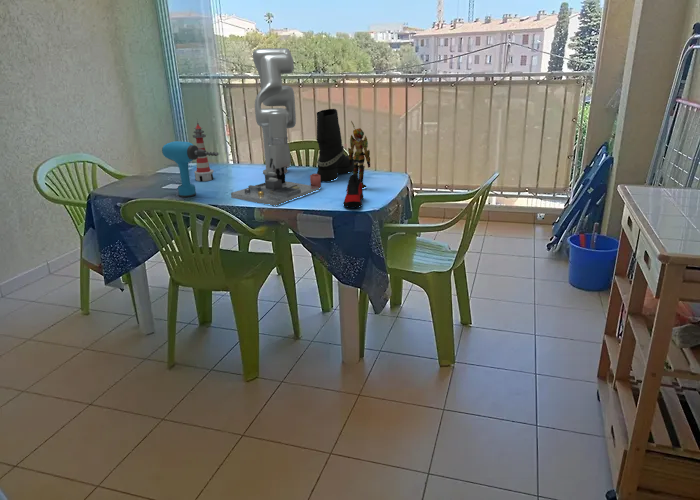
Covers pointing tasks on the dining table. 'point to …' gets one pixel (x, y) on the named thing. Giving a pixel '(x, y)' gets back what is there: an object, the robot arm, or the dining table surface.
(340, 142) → the boot
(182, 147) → the power drill
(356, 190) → the athletic shoe
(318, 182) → the lockout cap
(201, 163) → the miniature lighthouse
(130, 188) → the dining table surface
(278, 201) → the panel
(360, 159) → the figurine
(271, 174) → the dark grey cube
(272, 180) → the grey cube
